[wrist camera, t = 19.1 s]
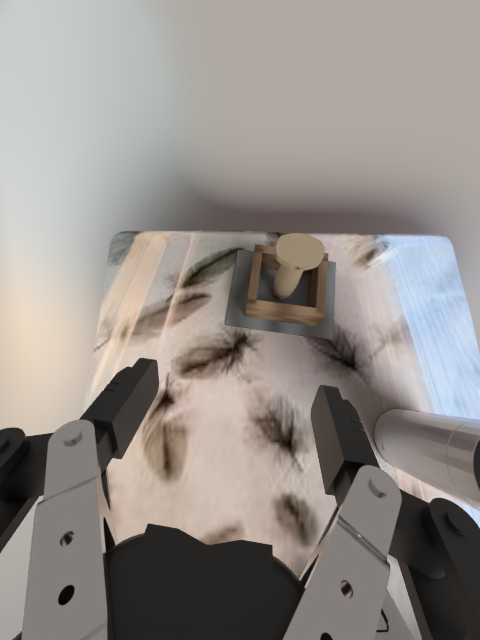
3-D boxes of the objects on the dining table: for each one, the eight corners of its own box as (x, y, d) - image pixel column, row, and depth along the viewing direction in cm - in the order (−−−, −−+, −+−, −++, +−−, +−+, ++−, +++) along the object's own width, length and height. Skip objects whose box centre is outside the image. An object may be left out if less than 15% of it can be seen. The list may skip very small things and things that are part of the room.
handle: (266, 279, 46) (278, 230, 32) (298, 284, 46) (325, 237, 32) (262, 301, 45) (273, 261, 31) (296, 307, 45) (323, 269, 30)
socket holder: (334, 263, 48) (348, 246, 42) (332, 339, 43) (346, 332, 38) (237, 250, 48) (237, 232, 43) (225, 324, 44) (223, 315, 38)
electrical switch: (378, 572, 34) (429, 649, 25) (383, 615, 33) (438, 712, 24) (314, 574, 34) (341, 652, 25) (317, 618, 33) (346, 715, 24)
